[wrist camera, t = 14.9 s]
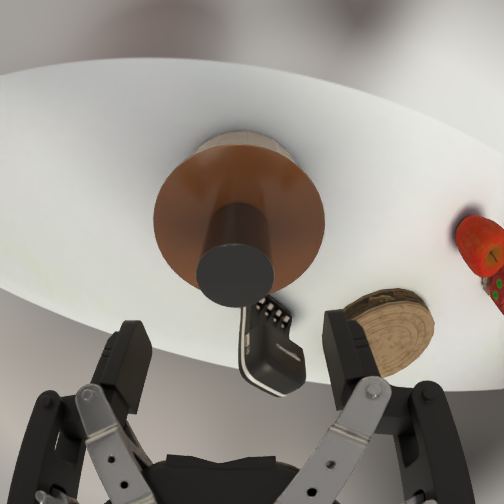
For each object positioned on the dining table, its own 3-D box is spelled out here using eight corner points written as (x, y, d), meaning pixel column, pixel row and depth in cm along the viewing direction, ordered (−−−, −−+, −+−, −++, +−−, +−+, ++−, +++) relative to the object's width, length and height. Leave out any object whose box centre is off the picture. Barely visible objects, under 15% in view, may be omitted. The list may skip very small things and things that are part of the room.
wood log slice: (444, 306, 37) (453, 320, 35) (380, 373, 45) (385, 387, 42) (369, 272, 34) (378, 287, 31) (302, 355, 41) (304, 372, 39)
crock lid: (142, 152, 19) (100, 184, 13) (321, 135, 19) (353, 159, 13) (175, 293, 25) (158, 353, 19) (318, 283, 25) (336, 343, 19)
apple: (455, 201, 29) (492, 231, 23) (487, 208, 29) (522, 237, 23) (439, 247, 32) (470, 283, 26) (471, 251, 32) (501, 283, 26)
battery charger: (300, 312, 37) (314, 389, 27) (277, 328, 38) (284, 404, 28) (261, 280, 34) (266, 360, 24) (238, 299, 36) (235, 378, 26)
